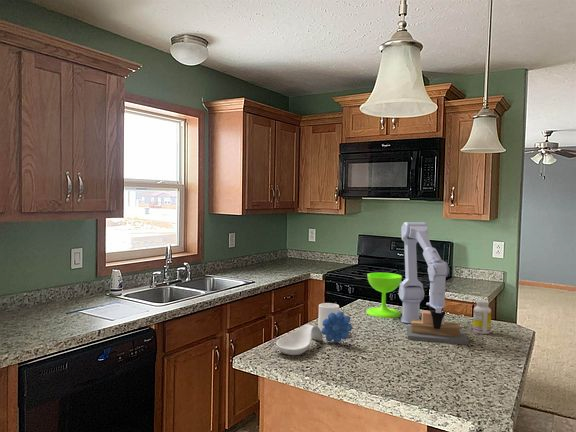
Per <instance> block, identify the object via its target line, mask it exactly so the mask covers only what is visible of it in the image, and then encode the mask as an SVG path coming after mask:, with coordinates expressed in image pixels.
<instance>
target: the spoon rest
mask: <svg viewBox="0 0 576 432" xmlns="http://www.w3.org/2000/svg"><path fill="white" fill-rule="evenodd" d="M323 339H324V338H323V334H322V332H321V330H320V328H319V327H318V325H311V324H309V323H307V324H305V325H303V326H301V327H299V328H298V329H296V330H294V331H292V332H290V333H289V334H286V335H284V336H283V337H280V338H279V339H278V340H277V341H276V342H275V343H276V345H275V346H277V349H278V350H279V351H280V352H282V353H283V354H284V355H288V356H300V355H302V354H303V353H305V352H306V351H307V350H308V349H309V347H310V345H311V342H312V340H315V341H320V342H322V341H323Z"/></svg>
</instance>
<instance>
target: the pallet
mask: <svg viewBox="0 0 576 432" xmlns="http://www.w3.org/2000/svg"><path fill="white" fill-rule="evenodd" d="M410 326H411V333H422V334H434V335H446V336H459V337H460V330H461V326H460V323H459V322H451V321H444V325H441V327H440V329H434V325H433V324H427V323H422V319H420V320H414V319H411V323H410Z"/></svg>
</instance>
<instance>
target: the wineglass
mask: <svg viewBox="0 0 576 432" xmlns="http://www.w3.org/2000/svg"><path fill="white" fill-rule="evenodd" d="M402 279H403V276H402V275H401V274H397V273H392V272H370V273H367V281H368V284H369V285H370V286H371V287H372V289H374V290H375V291H377V292H379V293H381V305H380V307H379V306H377V307H376V306H375V307H374V306H373V307H370V308H368V309H367V310H366V313H365V314H367V315H369V316H372V317H374V318H384V319H388V318H389V319H392V318H393V319H395V318H398V317H401V316H402V315H401V311H399V310H398V309H394V308H392V307H391V308H390V307H387V302H386V301H387V294H388V293H390V292H393V291H395V290H396V289H397V288H399V287H400V283H401V282H402Z"/></svg>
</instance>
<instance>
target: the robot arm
mask: <svg viewBox="0 0 576 432" xmlns="http://www.w3.org/2000/svg"><path fill="white" fill-rule="evenodd" d="M400 229H401V230H400V231H401V232H400V233H401V240H402V241H403V243H404V245H403V246H404V272H405V279H403V281H402V280H401V283H400V285H399V286H398V288H399V289H398V296H399V299H400V301H401V302H402V307H401V308H402V309H401V310H402V312H401V313H402V315H400V322H401V323H402V324H411V319H414V320H421V319H420V304H421V303H422V301H423V300H424V298H425V290H424V284H423V283H422V282H421V281H420V280H419V279H418V262H417V244H419V246H420V247H421V248H422V250H423V251H422V256H423V259H424V260H425V262H426V264H427V274H428V281H429V302H426V304H425V305H426V306H428V309H429V311H430V313H431V315H432V318H433V325H434V329H440V327H441V323H442V319H443V317H444V318H445V316H444V315H446V311H443V310H444V308H445V307H446V304H445V303H446V301H445V300H446V278H447V277H448V275H449V273H450V268H449V264H448V262H447V261H444V260H442V258H441V256H440V254H439V252H438V250H437V249H436V248H435V247H433V245H432V243H431V241H430V238H429V236H428V233H429V227H428V225H427V223H426V222H425V221H422V222H421V221H420V222H419V221H418V222H416V221H415V222H413V221H412V222H410V221H408V222H407V221H405V222H403V224H402V225H401V227H400Z"/></svg>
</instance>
